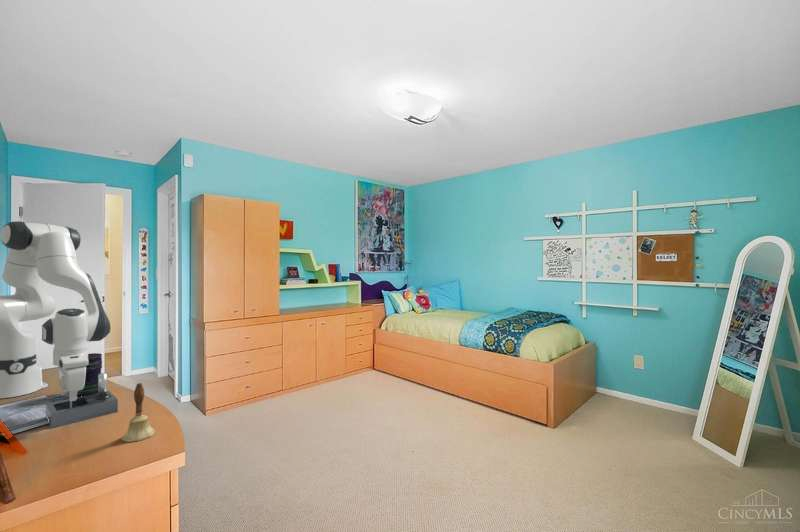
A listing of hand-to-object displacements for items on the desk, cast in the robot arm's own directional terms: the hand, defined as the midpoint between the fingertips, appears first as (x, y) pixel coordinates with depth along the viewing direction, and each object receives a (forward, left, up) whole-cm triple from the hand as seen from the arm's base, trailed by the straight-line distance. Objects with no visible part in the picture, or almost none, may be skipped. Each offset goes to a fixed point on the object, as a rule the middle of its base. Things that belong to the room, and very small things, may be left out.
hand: (70, 398), depth 124 cm
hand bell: (+32, +11, -7) cm, 35 cm away
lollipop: (0, 0, -7) cm, 6 cm away
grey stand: (0, +3, -7) cm, 7 cm away
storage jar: (-24, +8, -7) cm, 26 cm away
